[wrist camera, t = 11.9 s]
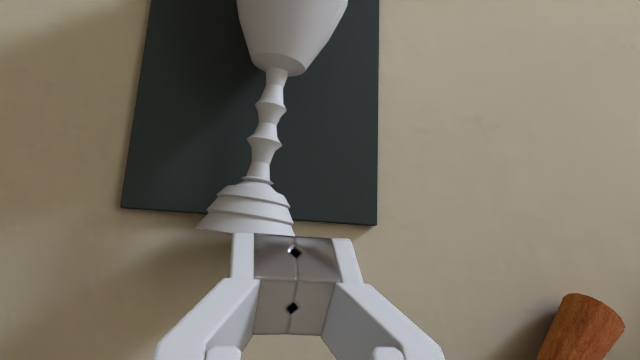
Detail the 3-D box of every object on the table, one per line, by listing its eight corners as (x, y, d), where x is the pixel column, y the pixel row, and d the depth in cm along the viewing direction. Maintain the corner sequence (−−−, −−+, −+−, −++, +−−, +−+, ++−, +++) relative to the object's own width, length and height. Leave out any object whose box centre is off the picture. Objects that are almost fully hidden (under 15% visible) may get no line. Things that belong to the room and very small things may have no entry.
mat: (374, 226, 25) (377, 225, 25) (121, 208, 22) (119, 206, 22) (377, -35, 29) (379, -39, 29) (164, -78, 26) (163, -83, 26)
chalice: (147, 219, 18) (229, -144, 21) (193, 229, 24) (249, -47, 27) (322, 246, 18) (377, -123, 21) (319, 248, 24) (361, -31, 27)
